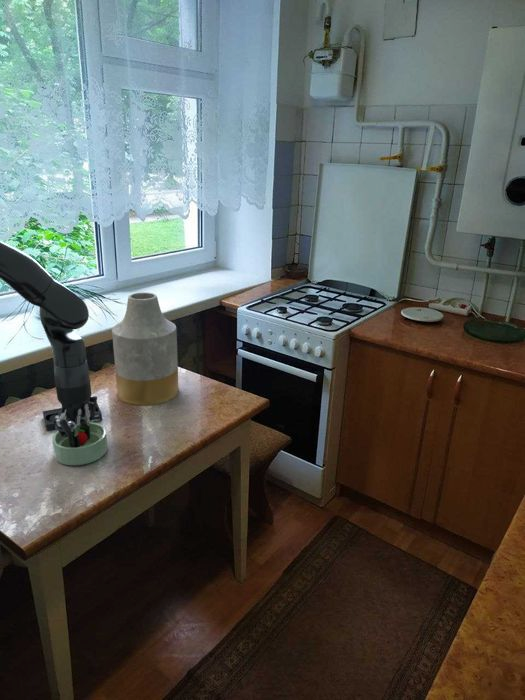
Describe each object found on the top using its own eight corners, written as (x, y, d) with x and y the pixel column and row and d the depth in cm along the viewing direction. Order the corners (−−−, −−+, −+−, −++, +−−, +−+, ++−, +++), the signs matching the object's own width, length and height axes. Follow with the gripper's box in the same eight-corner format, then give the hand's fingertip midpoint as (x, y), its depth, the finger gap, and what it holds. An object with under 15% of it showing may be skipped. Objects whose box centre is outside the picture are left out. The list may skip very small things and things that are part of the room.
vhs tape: (46, 431, 129) (45, 424, 129) (43, 417, 136) (42, 411, 135) (102, 420, 136) (101, 413, 135) (97, 407, 142) (96, 401, 141)
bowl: (88, 471, 114) (86, 453, 112) (43, 461, 117) (40, 443, 115) (117, 444, 125) (115, 426, 123) (75, 435, 128) (73, 418, 126)
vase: (104, 395, 149) (94, 298, 138) (145, 374, 164) (140, 284, 153) (151, 411, 141) (145, 309, 130) (190, 387, 156) (188, 293, 145)
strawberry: (80, 448, 118) (83, 431, 118) (67, 445, 118) (70, 429, 119) (89, 446, 121) (91, 430, 121) (76, 443, 122) (79, 428, 122)
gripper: (77, 365, 121) (84, 426, 128) (37, 390, 108) (47, 456, 115) (104, 370, 119) (110, 431, 126) (66, 395, 107) (75, 462, 113)
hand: (80, 443), depth 120 cm, fingers closed on strawberry, 3 cm apart
